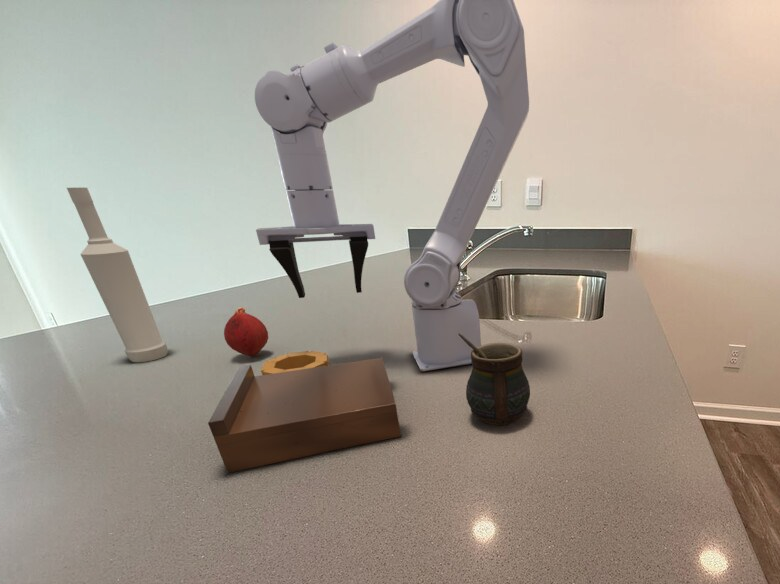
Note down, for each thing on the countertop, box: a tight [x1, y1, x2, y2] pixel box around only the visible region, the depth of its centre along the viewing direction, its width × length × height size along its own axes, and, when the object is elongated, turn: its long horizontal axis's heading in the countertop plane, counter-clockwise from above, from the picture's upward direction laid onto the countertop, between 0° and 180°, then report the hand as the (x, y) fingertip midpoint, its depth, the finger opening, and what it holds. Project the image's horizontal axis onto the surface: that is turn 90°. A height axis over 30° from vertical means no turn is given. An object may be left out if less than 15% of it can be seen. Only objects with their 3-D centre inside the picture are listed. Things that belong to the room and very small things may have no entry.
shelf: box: [207, 357, 402, 474], centre depth 45 cm, size 16×14×6 cm
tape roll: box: [260, 350, 331, 375], centre depth 56 cm, size 8×8×3 cm
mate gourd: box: [458, 333, 531, 427], centre depth 45 cm, size 7×8×10 cm
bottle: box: [66, 187, 169, 363], centre depth 61 cm, size 5×5×25 cm
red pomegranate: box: [223, 306, 269, 358], centre depth 64 cm, size 6×6×8 cm
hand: (331, 293), depth 59 cm, fingers open, 7 cm apart
